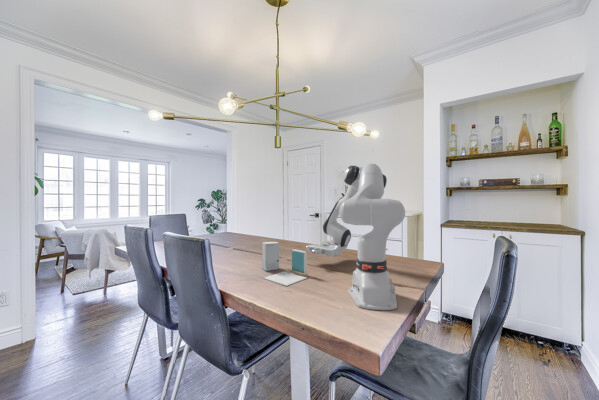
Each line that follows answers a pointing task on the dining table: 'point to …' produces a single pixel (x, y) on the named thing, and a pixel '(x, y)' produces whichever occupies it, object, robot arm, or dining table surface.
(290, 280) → the mat
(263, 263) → the skincare box
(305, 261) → the tile
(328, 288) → the dining table surface
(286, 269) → the rail
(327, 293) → the dining table surface
